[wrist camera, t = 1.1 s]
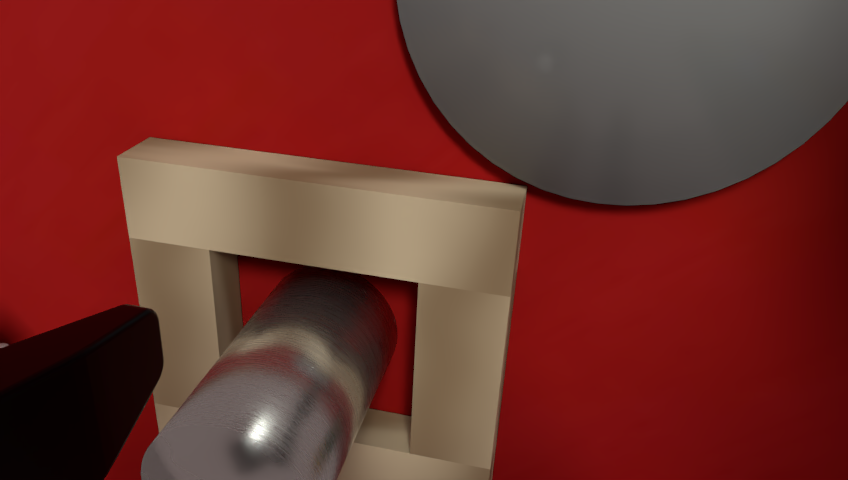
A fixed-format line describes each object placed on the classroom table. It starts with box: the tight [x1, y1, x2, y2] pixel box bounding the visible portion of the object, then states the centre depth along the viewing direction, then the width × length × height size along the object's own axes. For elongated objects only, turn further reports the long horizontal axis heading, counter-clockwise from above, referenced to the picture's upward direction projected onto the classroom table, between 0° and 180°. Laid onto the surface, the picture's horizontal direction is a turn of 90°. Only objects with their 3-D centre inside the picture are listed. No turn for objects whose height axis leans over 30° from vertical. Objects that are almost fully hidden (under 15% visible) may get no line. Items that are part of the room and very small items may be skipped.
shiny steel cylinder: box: [141, 266, 397, 480], centre depth 22 cm, size 5×5×8 cm
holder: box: [117, 137, 527, 480], centre depth 25 cm, size 12×12×2 cm
